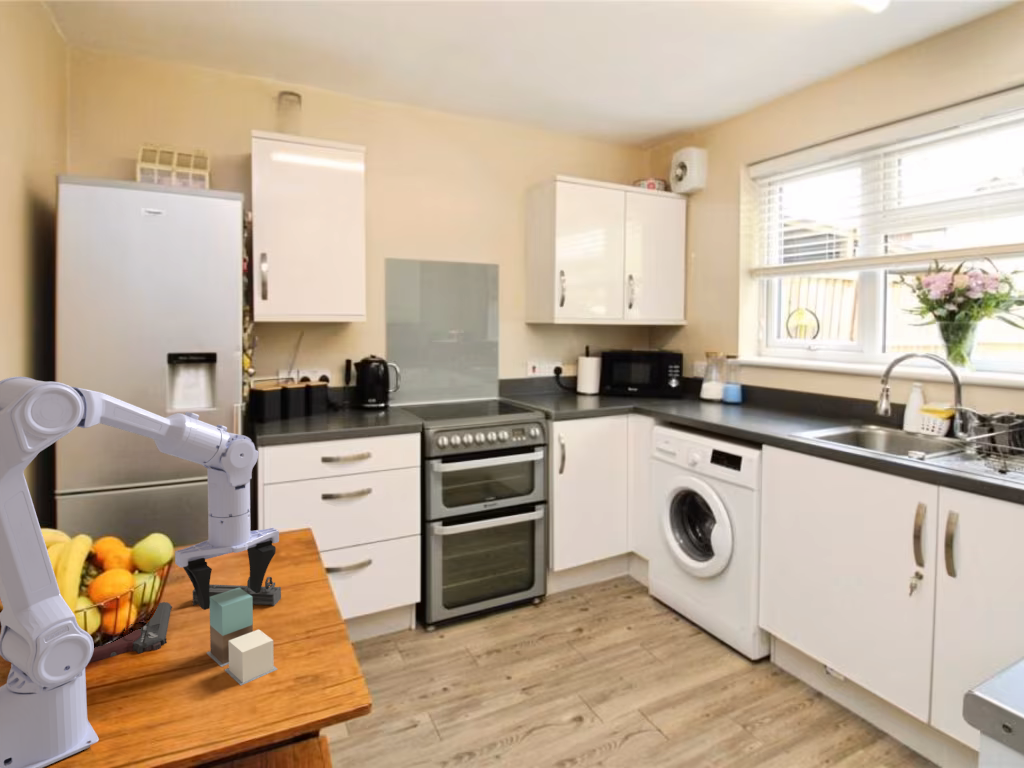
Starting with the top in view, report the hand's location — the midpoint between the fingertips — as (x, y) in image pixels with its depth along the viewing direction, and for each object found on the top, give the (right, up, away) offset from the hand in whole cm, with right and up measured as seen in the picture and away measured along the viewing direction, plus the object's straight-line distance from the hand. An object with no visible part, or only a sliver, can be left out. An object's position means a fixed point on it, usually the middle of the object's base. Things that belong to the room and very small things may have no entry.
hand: (230, 598), depth 89 cm
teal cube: (0, -4, 0) cm, 4 cm away
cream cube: (+5, -9, -3) cm, 11 cm away
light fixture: (-7, -8, +18) cm, 21 cm away
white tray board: (+1, -9, -2) cm, 10 cm away
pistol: (-20, -9, +6) cm, 22 cm away
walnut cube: (0, -9, +1) cm, 9 cm away
